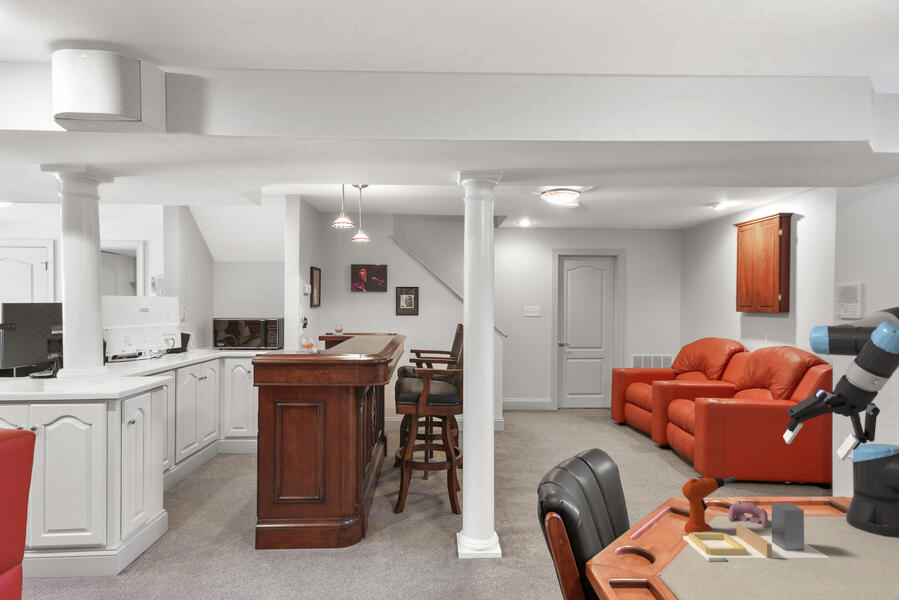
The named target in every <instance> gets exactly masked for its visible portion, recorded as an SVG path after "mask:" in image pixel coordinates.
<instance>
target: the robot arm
mask: <svg viewBox="0 0 899 600" xmlns="http://www.w3.org/2000/svg"><path fill="white" fill-rule="evenodd" d="M808 341H809V346H810V349H811V350H812V352H813V353H815V354H817V355H826V356H847V357H849V356H851V357H854V359H853V360H852V362H850V365H849V366H848V368H847V369H846V370H845V371H844V374H843V375H841V377H840V379H839V381H837V383H836V384H835V388H834V390H832V392H827V391H826V390H824V388H821V387H819V388H817V389H816V391H815V392H814V393H813V394H811V395H810V396H808V397H806V398H805V399H803V400H802V401H800V402H798V403H796V404H794V405H793V406H791V407H790V408H788V409H787V410H786V412H787V414H788V416H789V417H790V421H788V423H787V425H786V428H787V429H786V431H785V432H784V434H783V436H782V437H783V439H784V441H785V443H786V444H787V445H790V444H791V443H792V442H793V440H794V439H795V437H796V436H797V435H798V433H799V431H800V430H801V429H802V427H803V426H804V424H803V422H807V421H809V420H811V419H815V418H816V417H817V418H818V417H820V416H823V415H825V414H829V415H830V414H833V413H834V414H836V415H842V416H843V417H846V418H850V420H851V425H852V427H853V430H854V433H849V434H848V436H847V437H846V439H845V440H844V441H843V443H842V444H841V445H840V447H839V448H838V449H837V451H836V454H837V455H838V457H839V458H840V460H842V461H845V460H846V459H847V457H848V456H850V454H851V452H852V459H851V462H852V483H853V484H852V485H853V487H852V488H853V492H852V493H853V494H852V495H853V496H852V498H851V501H850V504H849V506H848V509H847V511H846V513H845V514H846V516H845V517H846V520H845V521H846V522H847V524H850V525H851V526H853V527H854V528H856V529H859V530H862V531H865V532H868V533H873V534H877V535H881V536H888V537H893V536H894V537H896V538H899V444H889V443H888V444H887V443H886V444H885V443H872V442H874V441H875V438H876V427H877V417H878V415H879V414H880V412H881V409H880V408H879V407H878V406H877V405H876V404H875V403H874V402H873V401H874V400H875V399H876V397H878V394H879V392H880V391H881V390H882V389H883V388H884V387H885V385H886V384H887V383H888V381H889V380H890V379H891V378H892V376H893V374H894V373H895V372H896V371H897V369H898V368H899V306H894V307H888V308H886V309H882V310H877V311H874V312H871V313H869V314H867V315H866V316H865V317H864V318H861V319H857V320H854V321H850V322H846V323H843V324H838V325H826V324H825V325H815V326H813V328H811V329H810V332H809V340H808ZM864 411H865V414H864V415H865V416H864V417H865V418H864V428H863V425H862V421H861V416H860V413H861V412H864ZM868 441H869V442H871V443H868Z"/></svg>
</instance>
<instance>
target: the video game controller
mask: <svg viewBox="0 0 899 600" xmlns="http://www.w3.org/2000/svg"><path fill="white" fill-rule="evenodd" d="M745 514H748V515H750V517H749V522H750V523H752V524H760V523H761V525H762V526H761V527H762V528H763V529H767V528H768V526H769V516H768V512H767V510H766V509H764V508H763V507H762V506H760V505H759V504H758V505H757V504H755V503H752V502H745V501H741V502H739V501H738V502H734V503H732V504H731V505H730V506H729V508H728V521H729V522H731V523H733V522H734V521H735V520H736V519H737V520H738V521H742V522H746V521H747V517H746V515H745ZM751 515H752V516H751Z"/></svg>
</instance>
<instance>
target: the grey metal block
mask: <svg viewBox="0 0 899 600" xmlns="http://www.w3.org/2000/svg"><path fill="white" fill-rule="evenodd" d="M771 536H772V543H774V544H775V545H777V546H778V547H780V548H782V549H783V550H785V551H804V543H805V512H804V509H802V508H801V507H798V506H797V505H794V504H793V503H791V502H788V503H787V502H785V503H784V502H783V503H782V502H781V503H780V502H771Z"/></svg>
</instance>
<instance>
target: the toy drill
mask: <svg viewBox="0 0 899 600" xmlns="http://www.w3.org/2000/svg"><path fill="white" fill-rule="evenodd" d="M736 480H737V477H736V476H732V477H729V478H728V477H727V478H721V477H717V478H713V477H712V478H710V477H703V478H690V479H688V481H687V482H686V483H684V484H683V486H682V488H681V489H682V490H681V491H682V495H683V496H684V497H685V498H686V500H688V503H689V517H688V522H686V523H685V524H684V532H686V533H688V534H689V533H707V532H710V531H713V527H712V526H711V525H710V524H708V523H706V519H705V512H706V510H707V509H708V506H707V505H706V502H705V500H704V499H705V498H707V497H708V496H710V495H712V494H713V493H714V492H716V491H717V490H718V489H720V488H722V487H724V486H725V484H727V483H731V482H733V481H736Z"/></svg>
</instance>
